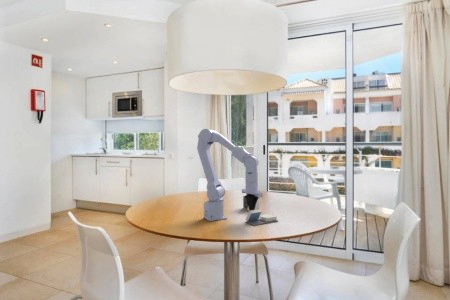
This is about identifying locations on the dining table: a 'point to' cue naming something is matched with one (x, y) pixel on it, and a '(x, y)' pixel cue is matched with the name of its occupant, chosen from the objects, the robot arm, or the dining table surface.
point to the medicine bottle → (245, 204)
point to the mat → (260, 222)
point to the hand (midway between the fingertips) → (251, 210)
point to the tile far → (267, 217)
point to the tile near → (253, 215)
